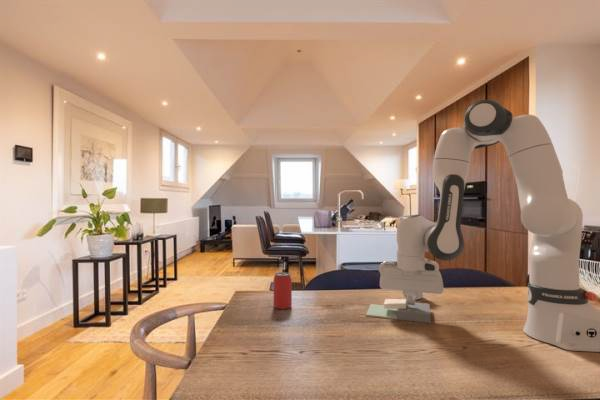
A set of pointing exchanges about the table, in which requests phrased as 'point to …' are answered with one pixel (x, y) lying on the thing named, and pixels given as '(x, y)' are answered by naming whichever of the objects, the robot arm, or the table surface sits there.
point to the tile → (395, 304)
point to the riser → (415, 313)
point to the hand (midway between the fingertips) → (410, 304)
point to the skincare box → (411, 295)
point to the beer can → (282, 290)
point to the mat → (381, 312)
